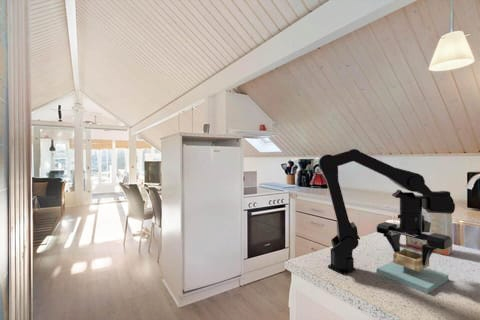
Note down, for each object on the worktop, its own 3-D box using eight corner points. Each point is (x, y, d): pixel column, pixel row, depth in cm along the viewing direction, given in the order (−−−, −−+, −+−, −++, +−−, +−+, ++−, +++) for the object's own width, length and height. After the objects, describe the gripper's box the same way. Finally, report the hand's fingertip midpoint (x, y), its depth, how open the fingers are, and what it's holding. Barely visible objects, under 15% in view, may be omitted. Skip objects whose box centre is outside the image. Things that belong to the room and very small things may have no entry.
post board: (376, 272, 77) (376, 256, 77) (398, 262, 84) (398, 247, 84) (427, 293, 65) (427, 274, 65) (448, 279, 72) (448, 261, 72)
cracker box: (452, 252, 92) (452, 198, 92) (447, 256, 89) (447, 200, 88) (411, 242, 104) (410, 194, 103) (405, 245, 100) (404, 196, 100)
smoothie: (383, 244, 101) (383, 211, 101) (387, 240, 106) (386, 209, 106) (401, 248, 97) (401, 214, 97) (404, 243, 102) (404, 211, 102)
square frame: (393, 262, 76) (393, 253, 76) (404, 257, 80) (404, 248, 80) (418, 271, 70) (418, 261, 70) (429, 265, 74) (429, 256, 74)
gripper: (459, 214, 71) (459, 266, 71) (392, 204, 87) (393, 246, 87) (443, 220, 65) (443, 276, 65) (375, 207, 81) (375, 253, 81)
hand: (410, 261), depth 75 cm, fingers closed on square frame, 7 cm apart
